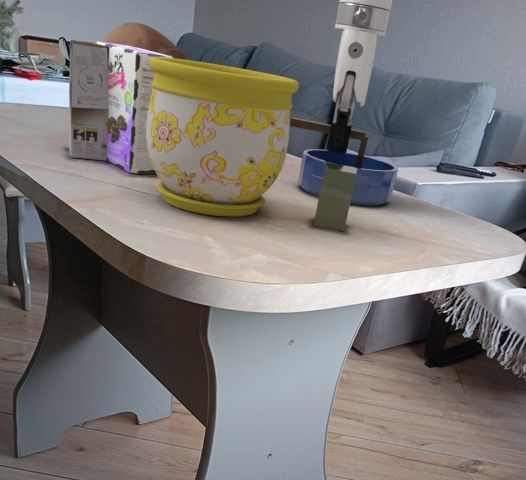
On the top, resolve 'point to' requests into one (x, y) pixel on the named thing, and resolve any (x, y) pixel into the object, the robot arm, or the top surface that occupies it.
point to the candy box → (129, 106)
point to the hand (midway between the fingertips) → (336, 150)
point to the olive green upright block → (335, 196)
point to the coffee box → (88, 100)
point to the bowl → (367, 178)
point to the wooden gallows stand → (326, 129)
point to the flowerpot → (217, 134)
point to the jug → (143, 39)
